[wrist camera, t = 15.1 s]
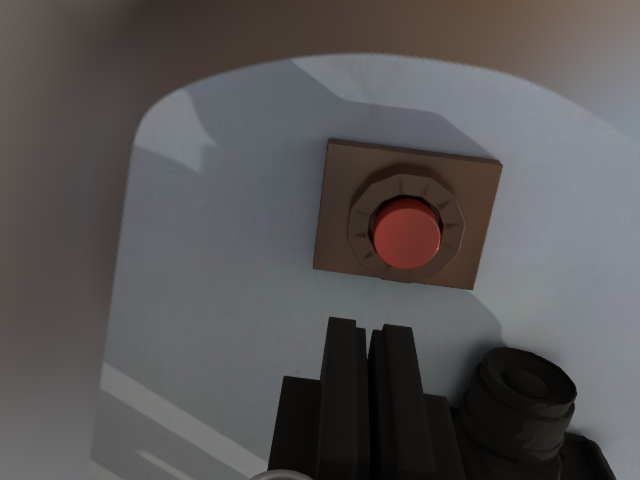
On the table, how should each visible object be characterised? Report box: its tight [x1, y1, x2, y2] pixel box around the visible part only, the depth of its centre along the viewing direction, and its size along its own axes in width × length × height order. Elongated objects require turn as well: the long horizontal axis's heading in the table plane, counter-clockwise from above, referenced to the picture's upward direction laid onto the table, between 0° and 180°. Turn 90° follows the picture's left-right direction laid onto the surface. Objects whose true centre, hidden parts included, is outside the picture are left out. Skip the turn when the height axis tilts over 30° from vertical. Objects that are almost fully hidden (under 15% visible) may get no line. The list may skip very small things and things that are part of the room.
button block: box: [313, 138, 503, 290], centre depth 35 cm, size 10×8×3 cm
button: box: [373, 198, 440, 269], centre depth 34 cm, size 4×4×2 cm
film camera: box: [449, 347, 616, 480], centre depth 37 cm, size 15×10×9 cm, turn 78°
